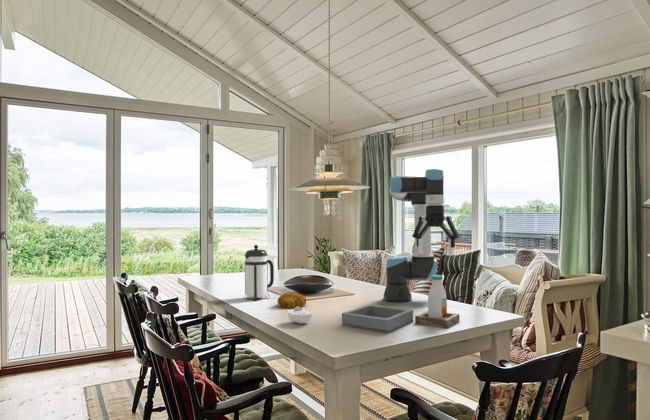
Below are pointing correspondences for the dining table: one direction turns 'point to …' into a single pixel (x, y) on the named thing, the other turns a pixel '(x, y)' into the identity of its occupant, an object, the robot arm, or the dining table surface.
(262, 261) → the coffee press
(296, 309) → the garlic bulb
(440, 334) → the dining table surface
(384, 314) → the charcoal tray
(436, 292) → the milk bottle
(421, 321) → the wooden square tray
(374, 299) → the dining table surface
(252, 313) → the dining table surface
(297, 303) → the croissant
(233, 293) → the dining table surface
